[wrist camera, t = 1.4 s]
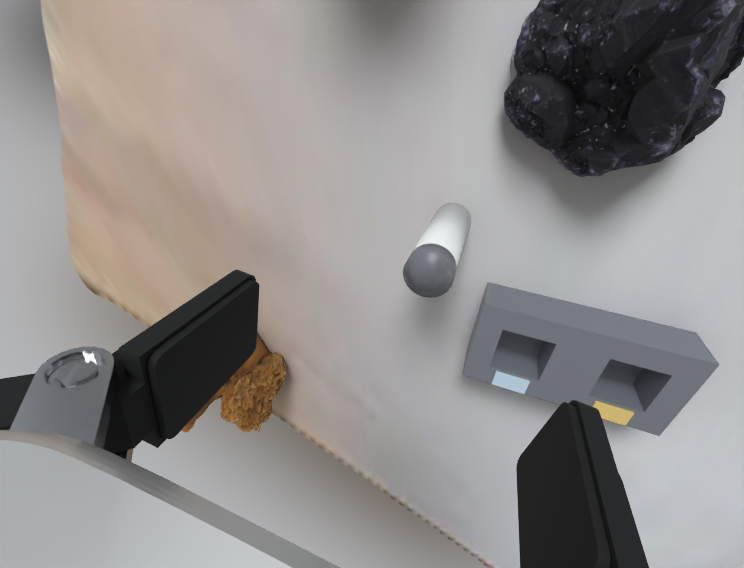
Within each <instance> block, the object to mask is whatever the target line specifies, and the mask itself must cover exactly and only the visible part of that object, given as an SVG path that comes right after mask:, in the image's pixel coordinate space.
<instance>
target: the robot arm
mask: <svg viewBox="0 0 744 568" xmlns="http://www.w3.org/2000/svg"><path fill="white" fill-rule="evenodd" d="M258 301H259V284H258V283H257V282H256V279H255V277H254V276H252V275H250V274H247V273H245V272H242V271H239V270H235V271H233V272H231V273H230V274H228V275H227V276H225V277H224V278H222V279H221V280H219V281H218V282H216V283H215V284H213V285H212V286H210V287H209V288H207V289H206V290H204V291H203V292H201V293H200V294H198V295H197V296H195V297H194V298H192V299H191V300H189V301H188V302H186V303H185V304H183V305H182V306H180V307H179V308H177V309H176V310H175V311H173V312H172V313H170V314H169V315H167V316H166V317H164V318H163V319H161V320H160V321H158V322H157V323H155V324H154V325H152V326H151V327H149V328H148V329H146V330H145V331H143V332H142V333H140V334H139V335H137V336H136V337H135V338H133V339H131V340H130V341H128V342H127V343H125V344H124V345H122V346H121V347H120V348H119V350H117V351H116V352H114V353H113V354H111V353H110V352H109V351H107V350H105V349H103V348H98V347H79V348H74V349H70V350H67V351H64V352H61V353H59V354H57V355H55V356H53V357H51V358H49V359H48V360H47V361H46V362H45V363H43V364H42V365H41V366H40V368H39V369H38V370H37V372H36V373H35V374H30V375H23V376H17V377H10V378H4V379H0V568H340V567H338V566H336V565H334V564H332V563H330V562H328V561H326V560H324V559H322V558H320V557H318V556H316V555H314V554H313V553H311V552H309V551H307V550H305V549H303V548H301V547H299V546H297V545H295V544H293V543H291V542H289V541H287V540H285V539H283V538H281V537H279V536H277V535H275V534H274V533H272V532H270V531H268V530H266V529H264V528H262V527H260V526H258V525H256V524H254V523H252V522H250V521H248V520H246V519H244V518H242V517H240V516H238V515H236V514H234V513H232V512H230V511H228V510H226V509H224V508H222V507H220V506H218V505H217V504H214V503H212V502H211V501H209V500H206V499H205V498H203V497H201V496H199V495H197V494H195V493H193V492H191V491H189V490H187V489H185V488H183V487H181V486H179V485H177V484H175V483H173V482H171V481H169V480H167V479H165V478H163V477H161V476H159V475H157V474H155V473H153V472H150V471H149V470H146V469H144V468H142V467H140V466H138V465H136V464H134V463H132V462H131V460H132V453H133V448H135V446H137V445H138V443H140V442H141V441H142V440H143V441H146V442H147V443H149V444H151V445H153V446H155V447H157V448H158V447H159V446H160V445H161V444H162V443H163V442H164V441H165V440H166V439H172V438H173V437H175V436H176V435H177V434H178V433H179V432H180V431H181V430H182V429H183V428H184V427H185V426H186V424H187V423H188V422H189V421H190V420H191V419H192V418H193V417H194V416H195V415H196V414H197V413H198V412H199V411H200V410H201V409H202V408H203V406H204V405H205V404H206V403H207V402H208V401H209V400H210V399H211V398H212V397H213V396H214V395H215V394H216V393H217V392H218V391H219V390H220V388H221V387H222V386H223V385H224V384H225V383H226V382H227V381H228V380H229V379H230V378H231V377H232V376H233V375H234V374H235V373H236V372H237V370H238V369H239V368H240V367H241V366H242V365H243V364H244V363H245V362H246V361H247V360H248V359H249V358H250V357H251V356H252V354H253V353H254V351H255V348H256V344H257V322H258ZM517 492H518V518H519V544H520V568H649V566H648V563H647V560H646V556H645V553H644V550H643V547H642V544H641V540H640V537H639V534H638V531H637V527H636V524H635V521H634V518H633V514H632V511H631V508H630V505H629V501H628V498H627V495H626V492H625V488H624V485H623V482H622V480H621V477H620V475H619V474H618V471H617V467H616V464H615V461H614V457H613V454H612V451H611V448H610V444H609V441H608V438H607V434H606V431H605V428H604V425H603V421H602V418H601V415H600V412H599V410H598V409H597V408H594V407H592V406H589V405H587V404H584V403H581V402H579V401H576V400H572V401H570V402H569V403H566V402H563V403H562V404H561V405H560V406H559V407H558V409H557V410H556V411H555V412H554V414H553V415H552V416H551V418H550V419H549V420H548V421H547V423H546V424H545V425H544V426H543V428H542V429H541V430H540V431H539V433H538V434H537V435H536V437H535V438H534V439H533V440H532V442H531V443H530V444H529V445H528V447H527V448H526V449H525V451H524V452H523V453H522V454H521V456H520V457H519V460H518V463H517Z"/></svg>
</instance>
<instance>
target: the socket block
mask: <svg viewBox="0 0 744 568" xmlns="http://www.w3.org/2000/svg"><path fill="white" fill-rule="evenodd" d="M718 366H719V363H718V362H717V361H716V359H715V358H714V357H713V355H712V354H711V352H710V351H709V350H708V348H707V347H706V346H705V344H704V343H703V341H702V340H701V339H700V337H699V336H698V335H697V333H694V332H690V331H686V330H682V329H678V328H674V327H670V326H666V325H661V324H657V323H653V322H649V321H645V320H641V319H637V318H633V317H628V316H624V315H620V314H616V313H612V312H608V311H604V310H600V309H595V308H591V307H587V306H583V305H579V304H575V303H571V302H567V301H562V300H558V299H554V298H550V297H546V296H542V295H538V294H534V293H530V292H525V291H521V290H517V289H513V288H509V287H505V286H501V285H497V284H492V283H488V284H487V287H486V290H485V294H484V297H483V300H482V303H481V306H480V310H479V313H478V316H477V319H476V323H475V326H474V329H473V332H472V335H471V339H470V342H469V345H468V348H467V353H466V359H465V364H464V370H463V375H465V376H468V377H471V378H474V379H478V380H481V381H484V382H487V383H490V384H493V385H496V386H499V387H502V388H506V389H509V390H512V391H515V392H518V393H522V394H526V395H529V396H532V397H535V398H539V399H542V400H545V401H548V402H552V403H555V404H558V405H561V404H562V403H563V402H566V403H569V402H570V401H572V400H576V401H579V402H581V403H584V404H587V405H589V406H592V407H594V408H597V409H598V410H599V412H600V415H601V418H602V419H605V420H608V421H612V422H615V423H618V424H621V425H626V426H629V427H632V428H635V429H638V430H642V431H645V432H648V433H651V434H655V435H658V436H660V435H661V433H662V432H663V431H664V430H665V429H666V427H667V426H668V425H669V424H670V423H671V422H672V420H673V419H674V418H675V417H676V416H677V414H678V413H679V412H680V411H681V410H682V408H683V407H684V406H685V405H686V404H687V403H688V401H689V400H690V399H691V398H692V397H693V395H694V394H695V393H696V392H697V391H698V390H699V388H700V387H701V386H702V385H703V384H704V382H705V381H706V380H707V379H708V378H709V377H710V375H711V374H712V373H713V372H714V371H715V369H716V368H717V367H718Z"/></svg>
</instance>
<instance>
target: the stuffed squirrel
mask: <svg viewBox="0 0 744 568" xmlns="http://www.w3.org/2000/svg"><path fill="white" fill-rule="evenodd" d="M286 369H287V367H286V364H285V362H284V361H283V357H282V356H281V355H279V354H277V353H271V352H269V350H268V349H267V348H266V347H265V345H264V343H263V341H262V340H261V338H260V336H259V335H258V333H257V344H256V348H255V351H254V353H253V354H252V356H251V357H250V358H249V359H248V360H247V361H246V362H245V363H244V364H243V365H242V366H241V367H240V368H239V369H238V370H237V372H236V373H235V374H234V375H233V376H232V377H231V378H230V379H229V380H228V381H227V382H226V383H225V384H224V385H223V386H222V387H221V388H220V390H219V391H218V392H217V393H216V394H215V395H214V396H213V397H212V398H211V399H210V400H209V401H208V402H207V403H206V404H205V405H204V406H203V408H202V409H201V410H200V411H199V412H198V413H197V414H196V415H195V416H194V417H193V418H192V419H191V420H190V421H189V422H188V423H187V424H186V426H185V427H184V428H183V429H182V431H184V432H188V431H189V430H190V429H191V428H192V427H193V425H194V423H195V421H196V419H198V418H199V417H200V416H201V415H202V414H203V413H204V412H205V410H206V409H207V408H208V406H209V405H210V404H211V403H212V402H213V401H214V400H216V399H218V398H221V397H222V405H221V409H222V411H221V414H220V415H221V418H223V419H226V421H229V422H230V421H231V422H232V423H236V425H237V426H238V427H239V429H241V430H243V431H244V432H250V430H251V429H254V430H255V431H256V430H257V431H258V432H259V431H260V427H261V423H262V422H266V420H267V419H269V416H270V414H271V411H272V398H273V397H274V396H275V397H277V391H278V390H280V388H281V387H282V382H283V380H286V379H285V378H286V374H287V373H286Z"/></svg>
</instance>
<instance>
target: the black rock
mask: <svg viewBox="0 0 744 568" xmlns="http://www.w3.org/2000/svg"><path fill="white" fill-rule="evenodd" d="M743 57H744V0H540V2H539V4H538V6H537V7H536V9H535V10H534V11H533V12H531V13H530V14H529V15H528V16H527V17H526V19H525V22H524V23H523V25H522V28H521V34H520V36H519V38H518V40H517V45H516V47H515V49H514V51H513V54H512V57H511V82H510V85H509V87H508V88H507V90H506V91H505V93H504V102H505V103H504V106H505V113H506V115H507V116H508V117H509V118H510V120H511V122H512V123H513V124H514V126H515V127H516V128H517V129H518V130H521V131H522V132H523V134H524V135H525V136H526V137H528V138H532V139H533V140H534V141H535V142H536V143H537V144H539V145H540V146H542V147H544V148H545V149H549V150H550V151H551V152H552V153H553V154H554V155H555V157H556V158H557V160H558V161H559V162H560V164H561V165H562V166H563V167H564V169H567V170H570V171H572V173H573V174H575V175H578V176H580V177H585V176H600V175H602V174H604V173H606V172H608V171H612V170H617V169H621V168H626V167H633V166H642V165H647V164H652V163H656V162H660V161H662V160H663V159H664V158H666V157H668V156H670V155H672V154H674V153H676V152H677V151H679V150H681V149H682V148H683V147H684V146H685V145H687V144H688V143H690V142H692V141H693V140H694V139H695V136H696V135H698V134H699V133H701V132H703V131H704V130H705V129H707V128H708V127H709V126H710V125H712V124H713V123H714V122H715V121H716V120H717V119H718V118H719V117H720V116H721V114H722V110H723V106H724V102H725V95H724V94H723V93H722V91H720V90H717V89H715V88H716V86H717V85H718V84H719V83H720V81H721V80H723V79H726V78H728V76H729V74H730V73H731V72H732V71H733V70H735V69H736V68H737V67H738V66H739V65H740V64H741V62H742V59H743Z"/></svg>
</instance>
